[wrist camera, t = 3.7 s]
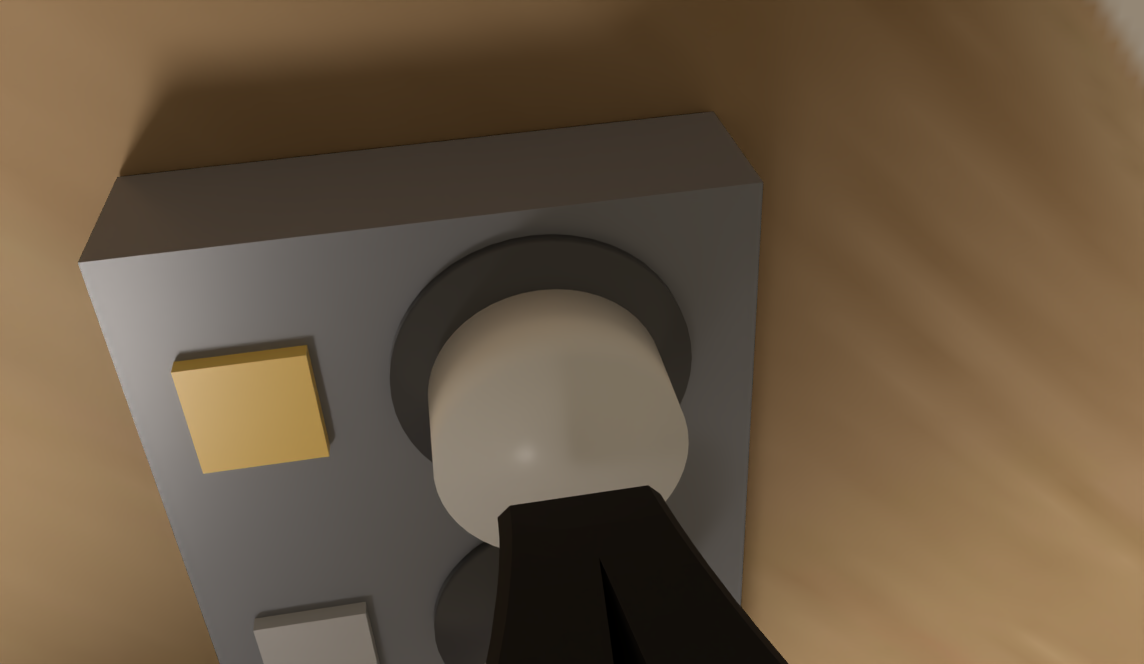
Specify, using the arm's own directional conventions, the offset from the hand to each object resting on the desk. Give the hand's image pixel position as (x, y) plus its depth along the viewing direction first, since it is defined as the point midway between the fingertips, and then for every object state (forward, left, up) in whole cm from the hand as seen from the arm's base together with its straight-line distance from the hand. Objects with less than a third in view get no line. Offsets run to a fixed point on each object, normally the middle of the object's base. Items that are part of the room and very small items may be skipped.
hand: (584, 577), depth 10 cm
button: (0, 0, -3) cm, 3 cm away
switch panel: (-1, -4, -5) cm, 7 cm away
